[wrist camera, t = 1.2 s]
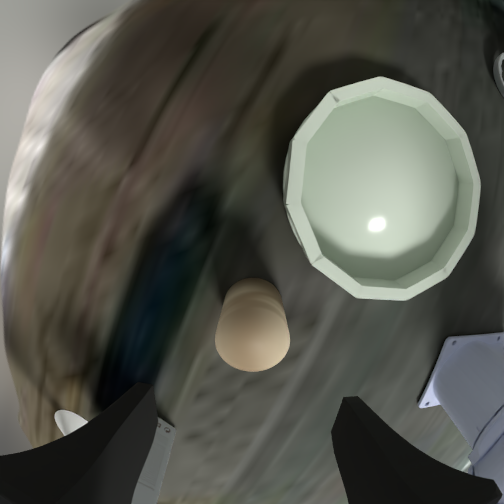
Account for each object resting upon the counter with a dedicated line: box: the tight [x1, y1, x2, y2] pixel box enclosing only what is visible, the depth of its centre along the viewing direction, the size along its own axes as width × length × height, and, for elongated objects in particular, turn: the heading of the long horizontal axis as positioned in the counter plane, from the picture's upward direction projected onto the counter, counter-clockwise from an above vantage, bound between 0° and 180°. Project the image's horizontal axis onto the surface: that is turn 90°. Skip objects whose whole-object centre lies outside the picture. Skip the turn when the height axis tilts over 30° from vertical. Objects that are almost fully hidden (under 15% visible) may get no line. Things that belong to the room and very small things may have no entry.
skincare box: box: [131, 417, 176, 504], centre depth 17 cm, size 6×4×12 cm
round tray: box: [283, 76, 481, 301], centre depth 17 cm, size 14×14×3 cm
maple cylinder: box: [215, 278, 290, 371], centre depth 18 cm, size 4×4×5 cm
